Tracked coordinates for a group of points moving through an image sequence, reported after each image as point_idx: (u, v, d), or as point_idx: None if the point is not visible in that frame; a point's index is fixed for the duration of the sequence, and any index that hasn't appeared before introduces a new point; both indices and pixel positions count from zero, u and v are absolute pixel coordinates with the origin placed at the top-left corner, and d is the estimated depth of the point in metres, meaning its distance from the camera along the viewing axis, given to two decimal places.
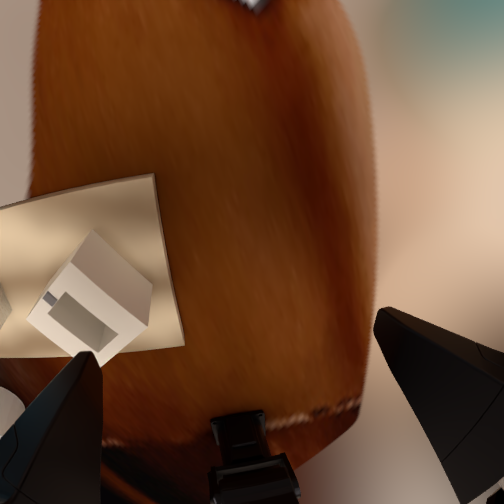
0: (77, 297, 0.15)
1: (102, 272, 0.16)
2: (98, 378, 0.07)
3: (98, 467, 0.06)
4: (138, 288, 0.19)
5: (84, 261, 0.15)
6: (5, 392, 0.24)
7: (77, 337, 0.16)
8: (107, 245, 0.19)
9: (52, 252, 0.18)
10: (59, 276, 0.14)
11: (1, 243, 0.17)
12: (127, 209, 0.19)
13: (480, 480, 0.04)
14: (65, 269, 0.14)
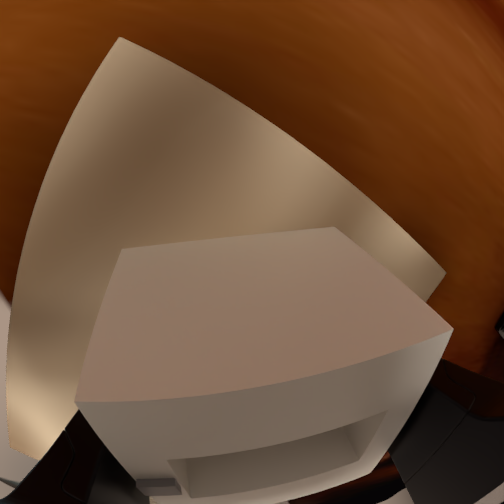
0: (208, 450, 0.04)
1: (207, 321, 0.05)
2: None
3: None
4: (327, 260, 0.07)
5: (127, 346, 0.04)
6: None
7: (296, 479, 0.06)
8: (178, 246, 0.08)
9: None
10: (111, 446, 0.04)
11: (56, 407, 0.09)
12: (138, 137, 0.07)
13: None
14: (96, 426, 0.03)
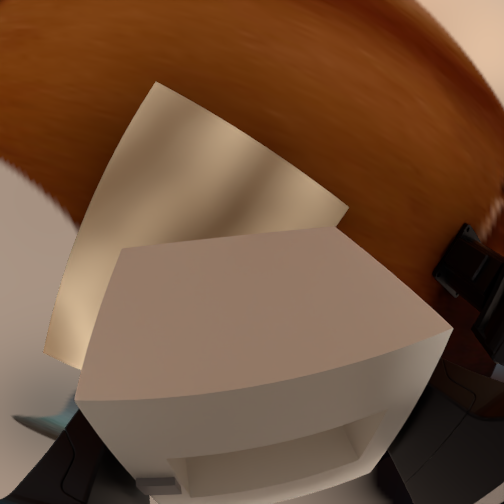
0: (208, 449, 0.04)
1: (207, 320, 0.05)
2: None
3: None
4: (327, 260, 0.07)
5: (128, 345, 0.04)
6: None
7: (295, 478, 0.06)
8: (178, 245, 0.08)
9: (143, 245, 0.17)
10: (111, 445, 0.04)
11: (95, 294, 0.18)
12: (165, 128, 0.15)
13: None
14: (96, 425, 0.03)
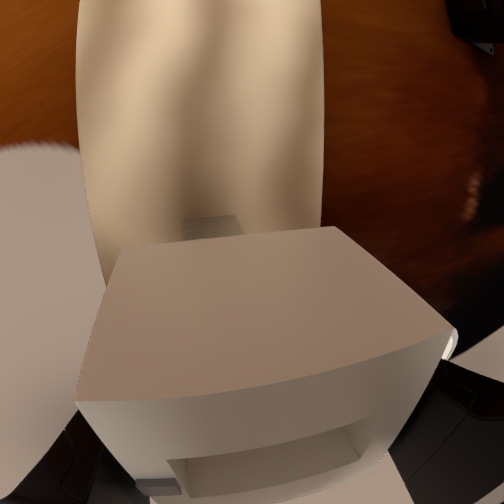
0: (208, 450, 0.04)
1: (207, 320, 0.05)
2: None
3: None
4: (328, 260, 0.07)
5: (127, 345, 0.04)
6: None
7: (296, 479, 0.06)
8: (178, 245, 0.08)
9: (147, 110, 0.14)
10: (110, 446, 0.04)
11: (128, 197, 0.16)
12: (109, 10, 0.11)
13: None
14: (95, 425, 0.03)
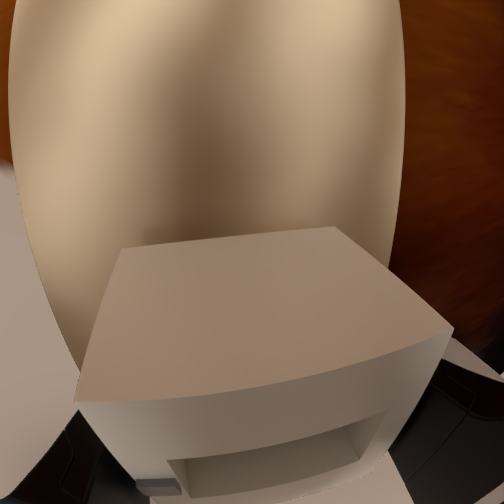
0: (208, 450, 0.04)
1: (207, 320, 0.05)
2: None
3: None
4: (328, 260, 0.07)
5: (127, 345, 0.04)
6: None
7: (296, 479, 0.06)
8: (178, 245, 0.08)
9: (118, 102, 0.08)
10: (110, 446, 0.04)
11: (94, 251, 0.09)
12: None
13: None
14: (95, 426, 0.03)
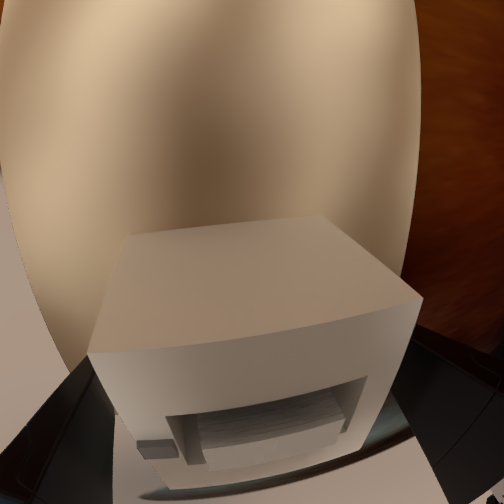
0: (203, 405, 0.05)
1: (203, 289, 0.06)
2: None
3: (110, 468, 0.06)
4: (312, 242, 0.08)
5: (134, 309, 0.05)
6: None
7: None
8: (178, 231, 0.09)
9: (112, 100, 0.07)
10: (115, 402, 0.05)
11: (88, 262, 0.08)
12: None
13: (471, 487, 0.04)
14: (103, 379, 0.04)
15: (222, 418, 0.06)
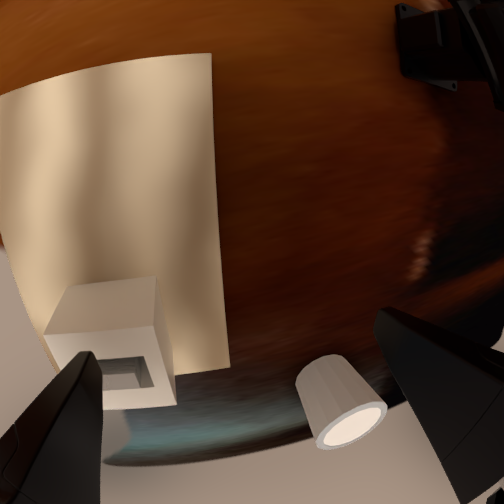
0: None
1: (82, 315, 0.14)
2: (98, 378, 0.07)
3: (98, 467, 0.06)
4: (134, 294, 0.16)
5: (59, 321, 0.13)
6: (304, 373, 0.26)
7: None
8: (87, 285, 0.16)
9: (51, 226, 0.15)
10: (53, 354, 0.12)
11: (51, 298, 0.16)
12: (7, 124, 0.12)
13: (479, 480, 0.04)
14: (48, 344, 0.12)
15: None
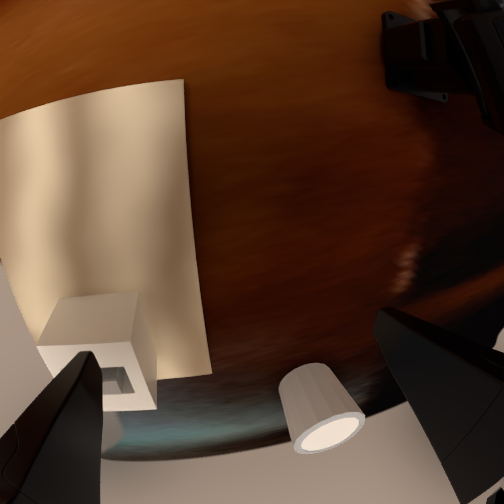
0: None
1: (70, 328, 0.15)
2: (98, 378, 0.07)
3: (98, 467, 0.06)
4: (117, 309, 0.17)
5: (50, 333, 0.14)
6: (286, 380, 0.27)
7: None
8: (77, 298, 0.18)
9: (42, 245, 0.16)
10: (45, 362, 0.14)
11: (45, 308, 0.17)
12: None
13: (479, 480, 0.04)
14: (41, 353, 0.13)
15: None
